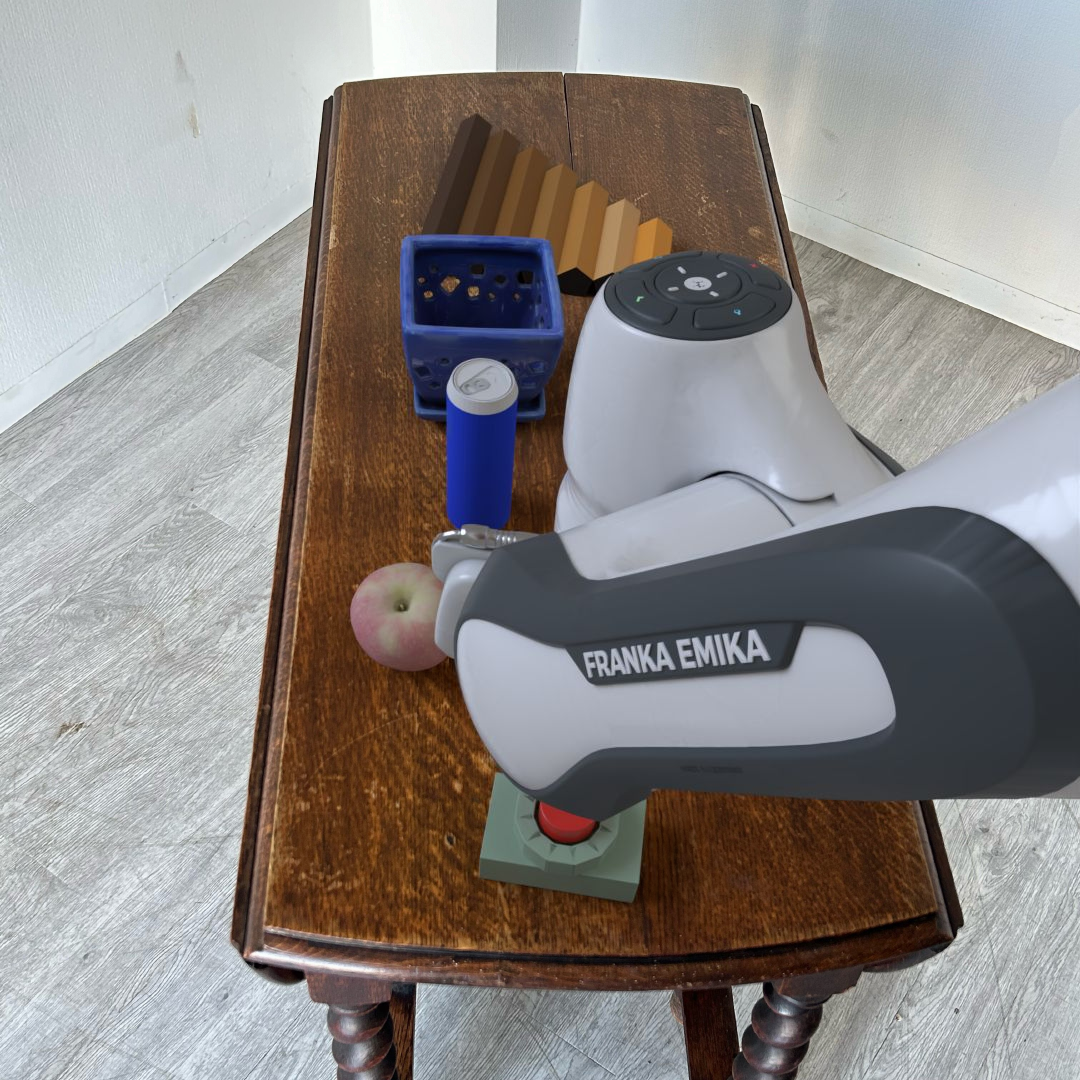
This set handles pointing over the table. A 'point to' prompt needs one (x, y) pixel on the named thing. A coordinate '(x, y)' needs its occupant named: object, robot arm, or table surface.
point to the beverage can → (480, 443)
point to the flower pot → (479, 315)
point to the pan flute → (539, 209)
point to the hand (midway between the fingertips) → (613, 707)
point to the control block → (560, 849)
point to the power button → (564, 824)
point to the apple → (399, 616)
